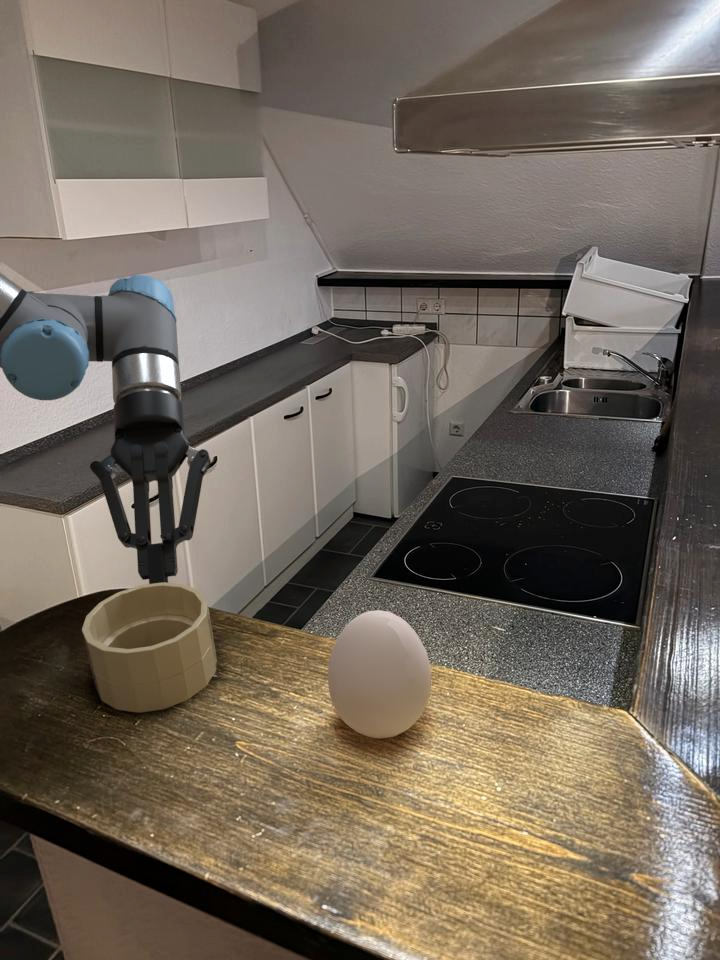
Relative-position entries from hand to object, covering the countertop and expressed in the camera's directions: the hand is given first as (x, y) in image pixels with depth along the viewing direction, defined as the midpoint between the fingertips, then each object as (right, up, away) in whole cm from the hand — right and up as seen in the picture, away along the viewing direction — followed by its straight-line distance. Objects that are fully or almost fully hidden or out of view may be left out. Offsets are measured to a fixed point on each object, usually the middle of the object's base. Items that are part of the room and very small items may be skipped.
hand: (160, 607), depth 78 cm
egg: (+22, -8, -12) cm, 27 cm away
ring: (+1, -6, -5) cm, 8 cm away
